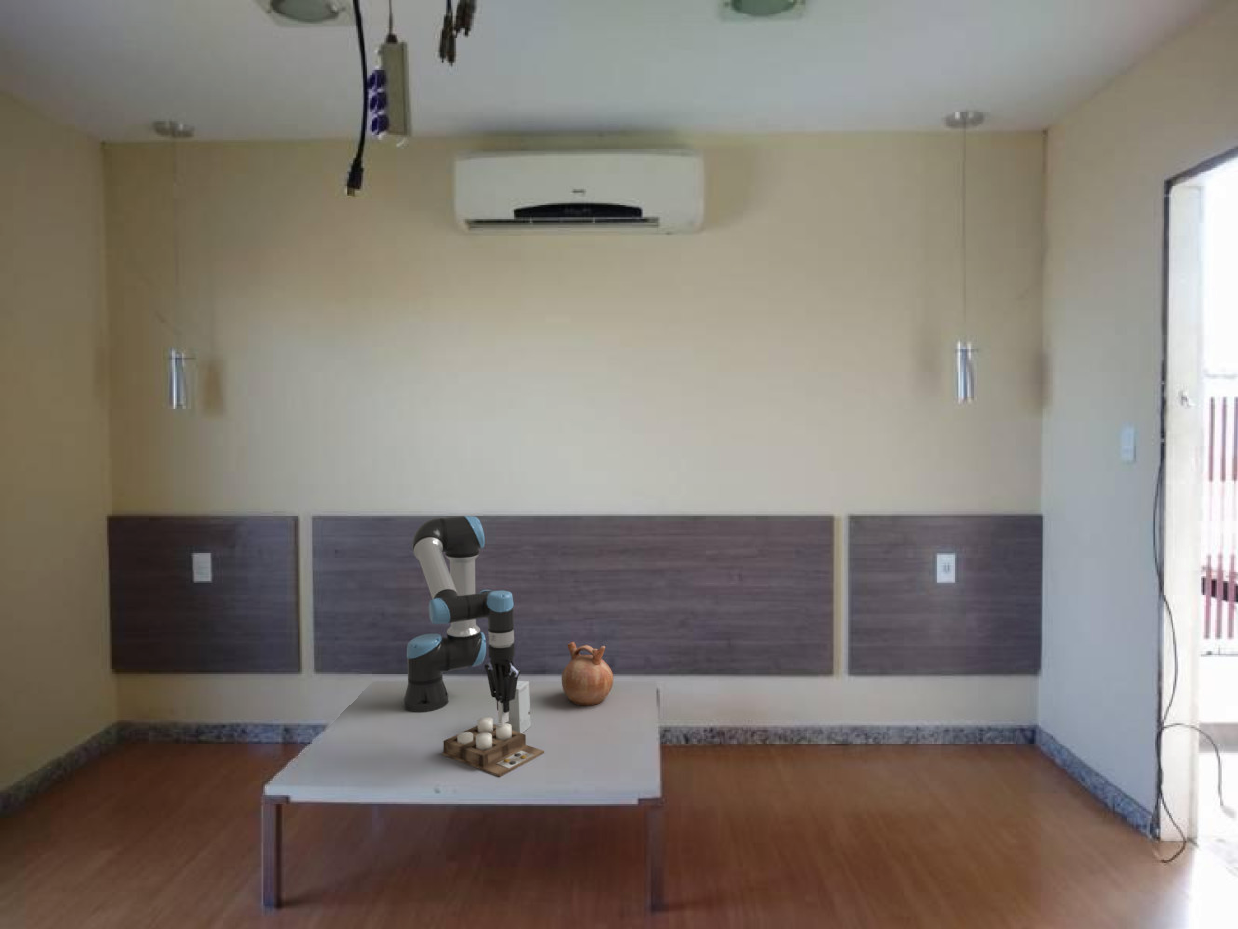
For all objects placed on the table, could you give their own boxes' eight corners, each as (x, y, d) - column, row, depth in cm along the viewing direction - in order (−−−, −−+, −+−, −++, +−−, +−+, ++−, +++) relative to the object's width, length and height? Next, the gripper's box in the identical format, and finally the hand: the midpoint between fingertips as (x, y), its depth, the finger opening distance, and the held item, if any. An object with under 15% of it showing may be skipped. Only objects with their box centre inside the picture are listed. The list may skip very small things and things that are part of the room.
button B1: (472, 750, 219) (472, 736, 218) (484, 744, 222) (484, 731, 222) (483, 754, 216) (483, 740, 216) (495, 748, 220) (495, 735, 219)
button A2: (474, 733, 230) (474, 721, 230) (485, 728, 233) (485, 716, 233) (485, 737, 227) (484, 724, 227) (496, 732, 231) (495, 719, 230)
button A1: (454, 749, 224) (454, 736, 223) (466, 743, 227) (465, 730, 227) (465, 753, 221) (464, 740, 221) (476, 747, 224) (476, 734, 224)
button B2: (493, 740, 225) (492, 727, 225) (504, 735, 229) (503, 722, 228) (504, 744, 222) (503, 731, 222) (515, 738, 226) (514, 725, 226)
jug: (624, 695, 267) (623, 640, 266) (595, 713, 252) (594, 654, 250) (581, 686, 277) (580, 632, 275) (551, 702, 262) (549, 646, 260)
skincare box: (520, 737, 234) (519, 690, 233) (502, 734, 236) (501, 688, 235) (531, 726, 242) (530, 680, 241) (514, 724, 244) (513, 679, 243)
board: (442, 754, 223) (442, 741, 223) (487, 733, 237) (487, 721, 237) (499, 777, 208) (499, 762, 208) (544, 753, 223) (543, 739, 222)
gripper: (476, 643, 224) (479, 721, 226) (507, 651, 217) (510, 731, 218) (495, 637, 230) (497, 713, 232) (526, 644, 223) (528, 722, 224)
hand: (503, 721), depth 225 cm, fingers closed
